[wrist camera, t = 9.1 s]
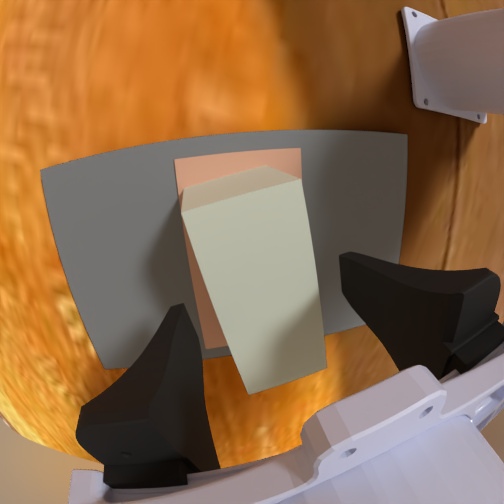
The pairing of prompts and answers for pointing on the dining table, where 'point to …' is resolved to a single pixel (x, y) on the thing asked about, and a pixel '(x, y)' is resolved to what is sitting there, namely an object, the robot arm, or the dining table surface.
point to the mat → (176, 236)
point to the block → (259, 272)
